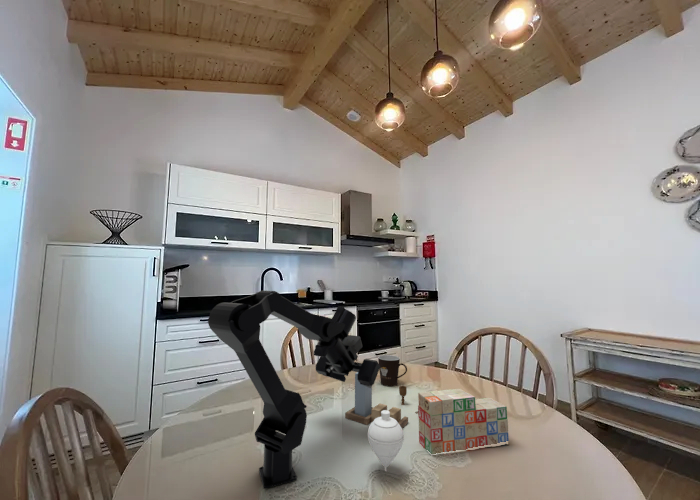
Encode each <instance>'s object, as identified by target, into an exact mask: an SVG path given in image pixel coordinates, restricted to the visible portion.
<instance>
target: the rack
mask: <svg viewBox="0 0 700 500" xmlns="http://www.w3.org/2000/svg"><path fill="white" fill-rule="evenodd" d="M372 408H374V407H373V406H372ZM344 414H345V416H344V417H345V419H347V420H351V421H352V422H353V421H354V422H358V423H360V424H362V425H365V426H368V425H370V424H371V414H370V415H368V416H367V417H364V416H361V415H357V414H355V406H353V407H352V408H351V409H349V410H348V411H346V412H345V413H344ZM398 423H399V425H400V426H401V428H402V429H403V428H404V427H406V425H407V424H409V417H408V416H406V415H404V416H403V417H401V420H400V421H399V422H398Z"/></svg>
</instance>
